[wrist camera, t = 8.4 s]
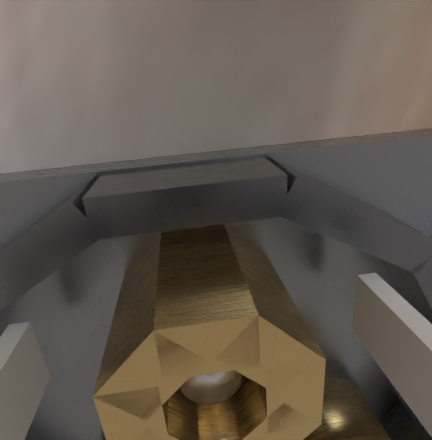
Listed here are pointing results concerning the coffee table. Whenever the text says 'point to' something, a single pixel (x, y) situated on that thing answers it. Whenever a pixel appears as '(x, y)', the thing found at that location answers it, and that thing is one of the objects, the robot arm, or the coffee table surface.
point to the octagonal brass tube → (208, 345)
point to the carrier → (249, 231)
